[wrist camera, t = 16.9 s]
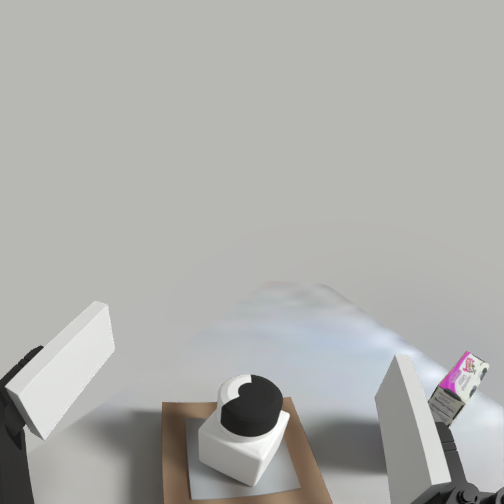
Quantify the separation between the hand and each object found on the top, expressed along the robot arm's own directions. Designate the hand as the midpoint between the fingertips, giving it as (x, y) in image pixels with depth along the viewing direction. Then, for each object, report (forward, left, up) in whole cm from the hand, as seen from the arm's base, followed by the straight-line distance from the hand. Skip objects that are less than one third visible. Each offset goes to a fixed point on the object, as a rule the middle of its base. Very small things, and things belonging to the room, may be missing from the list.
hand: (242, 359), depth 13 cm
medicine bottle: (-3, -9, -24) cm, 26 cm away
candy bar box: (-31, -6, -30) cm, 44 cm away
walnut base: (-3, -9, -29) cm, 31 cm away
